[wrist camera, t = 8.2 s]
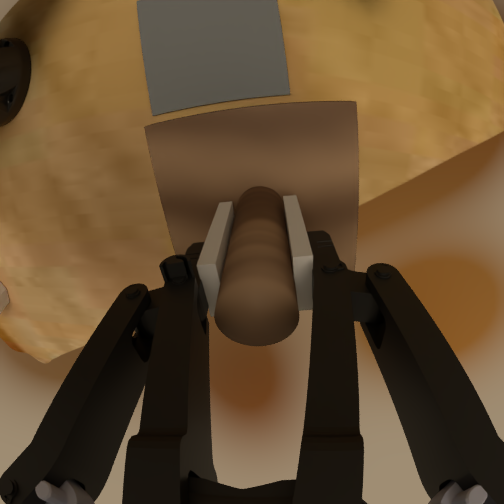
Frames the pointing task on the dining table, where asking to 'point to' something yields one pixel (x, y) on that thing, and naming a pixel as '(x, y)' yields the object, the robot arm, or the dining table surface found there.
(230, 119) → the lid
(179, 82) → the mat
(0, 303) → the jar
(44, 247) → the dining table surface
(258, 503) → the robot arm
